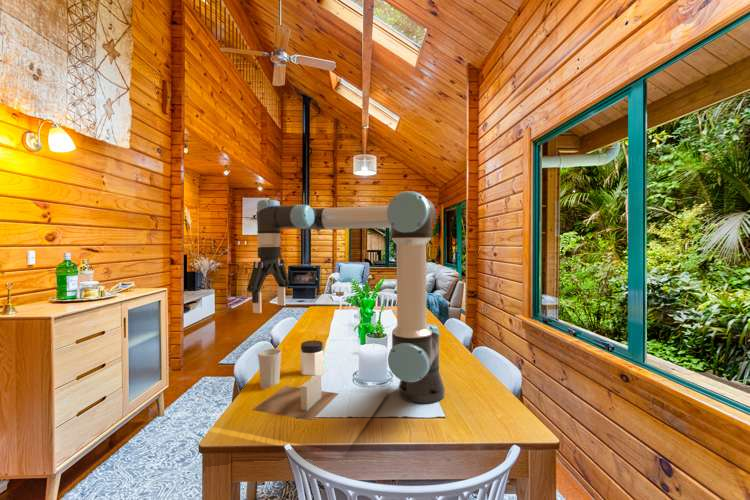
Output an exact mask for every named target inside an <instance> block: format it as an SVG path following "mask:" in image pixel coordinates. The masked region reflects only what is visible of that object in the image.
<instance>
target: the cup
mask: <svg viewBox="0 0 750 500" xmlns="http://www.w3.org/2000/svg"><path fill="white" fill-rule="evenodd" d="M257 358H258V359H257V360H258V365H259V377H260V378H259V379H260V388H261V389H262V390H267V389H268V388H270V387H271V386H272V387H273V386H276V385H278V384H279V383H280V379H281V377H280V376H281V375H280V374H281V361H282V350H281V349H279V348H265V349H261V350H259V351H258V352H257Z"/></svg>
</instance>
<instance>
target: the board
mask: <svg viewBox="0 0 750 500" xmlns="http://www.w3.org/2000/svg"><path fill="white" fill-rule="evenodd" d="M338 395H339V393H338V392H337V393H336V392H330V391H325V390H324V391H323V390H321V398H320V399H319V400H318V401H317V402H316V403H315V404H314V405H313V406H312V407H311V408H309V409H308V410H307V411H306V410H301V387H296V386H290V385H285V386H284V387H282V388H281V389H278V391H276V392H274V393H273V394H272V395H271V396H269V397H268V398H266V399H264V401H262V402H260V403H259V404H257V405H256V406H254V407H253V408H251V410H252V411H256V412H262V413H268V414H273V415H278V416H279V415H280V416H284V417H291V418H296V419H301V420H307V421H313V420H314V419H315V418H316V417H317V416H318V415H319V413H321V412H322V411H323V410H324V409H325V408H326V406H328V405H329V404H330V403H331V402H332V401H333V400H334V399H335V398H336V397H337V396H338Z"/></svg>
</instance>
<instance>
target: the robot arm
mask: <svg viewBox="0 0 750 500" xmlns="http://www.w3.org/2000/svg"><path fill="white" fill-rule="evenodd" d="M436 218H437V209H436V208H435V205H434V203H433V202H432V201H431V200H430V199H428V198H427V197H425V196H424V195H423V194H422V193H419V192H418V191H411V190H407V191H401V192H400V193H398V194H396V195H395V196H393V197H392V198H391V199H390V201H389V203H388V205H387V204H386V205H366V206H365V205H364V206H344V207H342V206H340V207H317V208H315V207H311V206H310V205H309V204H295V205H294V204H291V205H281V203H280V201H279V200H275V199H260V200H258V201H257V204H256V224H257V225H256V227H257V228H256V229H257V246H258V247H257V249H256V250H257V258H258V259H260V260H259V261H253V264H252V266H253V267H252V271H251V274H250V278H249V282H248V285H247V288H246V291H247V292H248V293H250V294H251V300H252V301H251V302H252V313H253V314H262V311H263V310H262V308H263V307H262V292H261V289H262V287H263V285H264V282H265V281H266V278H267V276H269V275H272V277H273V278H274V279H275V282H276V284H277V285H278V286H277V306H283V307H284V306H286V288H288V287H289V284H290V280H289V277H288V273H287V271H286V267H285V260H284V259H280V258H281V257H282V254H281V253H282V252H281V251H282V249H281V247H280V246H281V244H282V242H281V241H282V239H281V238H282V237H281V229H303V230H304V229H305V230H314V231H316V230H317V231H319V230H329V229H330V230H333V229H335V230H337V229H339V230H340V229H341V230H343V229H344V230H345V229H386V228H387V229H388V228H389V229H391V235H390V236H391V238H390V239H391V240H392V241H393V243H394V244H395V245H396V327H394V329H393V330H391V349H390V351H389V353H388V357H387V363H388V364H387V365H388V367H389V370H390V371H391V374H393V375H394V377H396V378H397V379H398V380H399V383H398V395H399V396H400V397H401V398H402V399H404V400H406V401H408V402H412V403H416V404H417V403H418V404H431V403H432V404H433V403H436V402H440V401H441V400H442V399H443V398H444V397H445V393H446V390H445V386H444V384H445V383H444V382H443V378H442V375H441V372H440V336H441V335H440V329H439V327H438V325H435V324H431V323H430V324H429V323H427V244H428V242H430V241H431V240H432V227H433V225H434V223H435V221H436Z"/></svg>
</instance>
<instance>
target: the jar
mask: <svg viewBox="0 0 750 500" xmlns="http://www.w3.org/2000/svg"><path fill="white" fill-rule="evenodd" d="M323 345H324V343H323V341H321V340H313V339H312V340H306V341H303V342H301V343H300V373H301V375H302V376H311V377H314V376H315V375H319V376H321V377H322V376H324V373H325V371H324V370H325V368H324V365H325V364H324V363H325V362H324V361H325V360H324V349H323V347H324V346H323Z"/></svg>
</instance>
